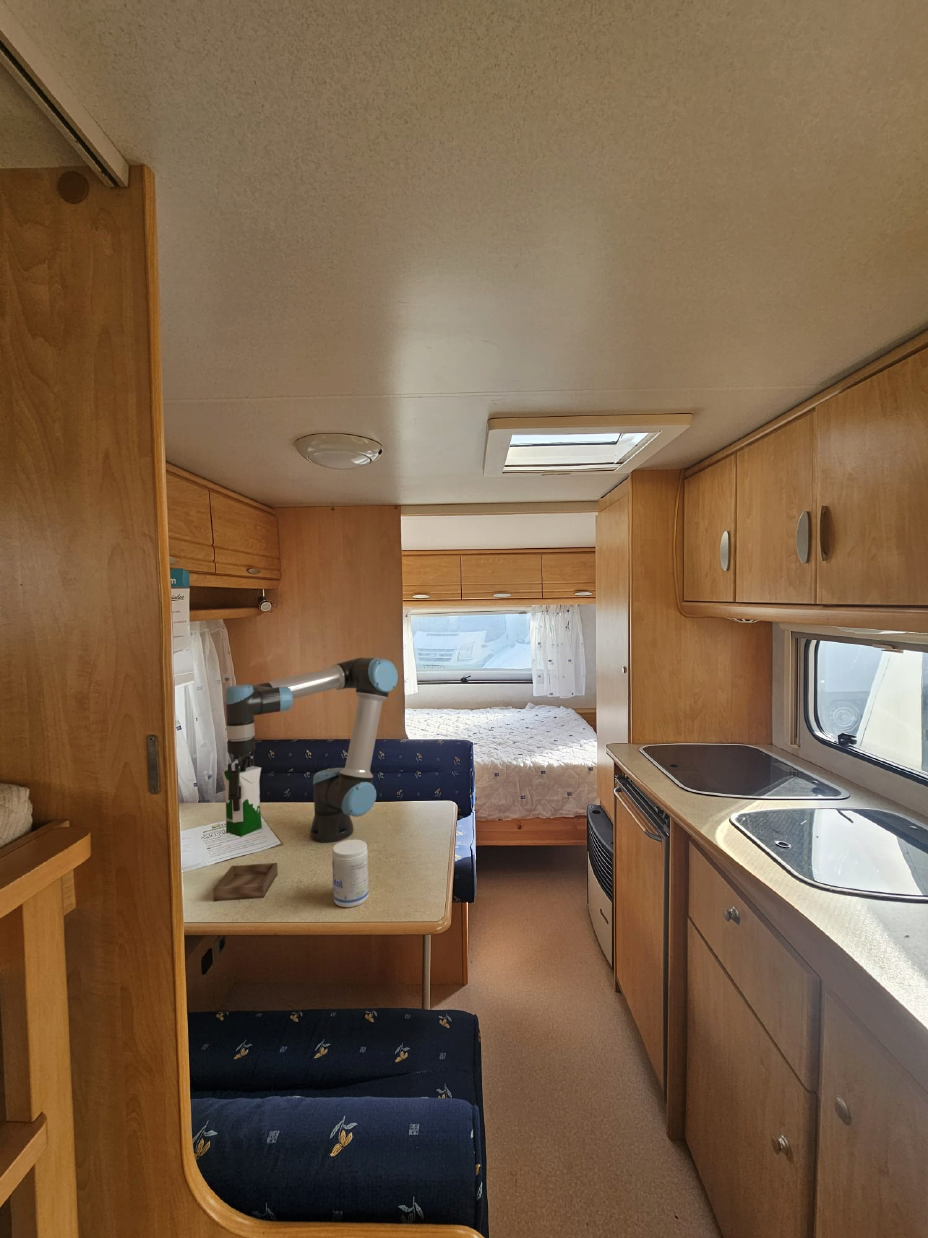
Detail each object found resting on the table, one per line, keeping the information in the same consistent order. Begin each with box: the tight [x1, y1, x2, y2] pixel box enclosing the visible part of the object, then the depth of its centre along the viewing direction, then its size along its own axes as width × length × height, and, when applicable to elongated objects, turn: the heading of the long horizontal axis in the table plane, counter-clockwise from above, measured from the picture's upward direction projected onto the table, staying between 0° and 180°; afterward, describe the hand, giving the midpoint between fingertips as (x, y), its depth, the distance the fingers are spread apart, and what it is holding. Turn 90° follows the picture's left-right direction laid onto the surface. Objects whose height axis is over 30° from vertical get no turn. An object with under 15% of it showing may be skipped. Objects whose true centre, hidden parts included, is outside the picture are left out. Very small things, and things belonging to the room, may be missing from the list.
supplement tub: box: [331, 839, 370, 908], centre depth 144 cm, size 10×10×15 cm
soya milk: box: [221, 763, 263, 838], centre depth 152 cm, size 9×9×20 cm
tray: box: [212, 862, 278, 902], centre depth 153 cm, size 14×14×4 cm
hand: (244, 815), depth 153 cm, fingers closed on soya milk, 8 cm apart
